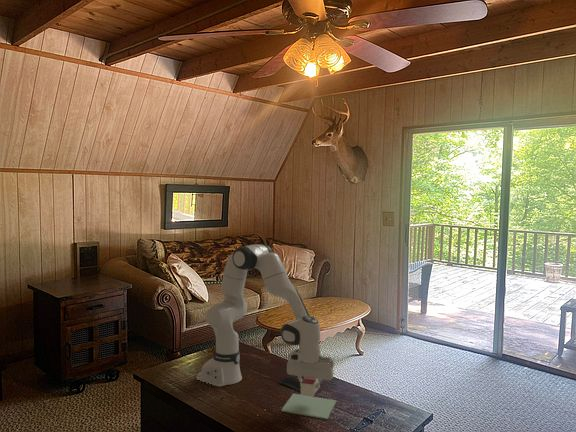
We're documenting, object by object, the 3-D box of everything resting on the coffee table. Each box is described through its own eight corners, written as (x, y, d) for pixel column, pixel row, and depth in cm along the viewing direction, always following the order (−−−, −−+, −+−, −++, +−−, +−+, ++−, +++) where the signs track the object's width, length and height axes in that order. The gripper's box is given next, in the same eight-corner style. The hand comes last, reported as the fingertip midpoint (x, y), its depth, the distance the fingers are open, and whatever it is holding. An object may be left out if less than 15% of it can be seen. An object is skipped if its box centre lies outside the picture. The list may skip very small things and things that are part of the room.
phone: (288, 376, 214) (313, 384, 205) (288, 379, 215) (313, 387, 206) (278, 382, 208) (304, 390, 199) (278, 384, 208) (303, 393, 199)
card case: (306, 385, 190) (306, 374, 190) (318, 387, 189) (318, 376, 188) (300, 394, 182) (300, 382, 182) (313, 396, 180) (313, 384, 180)
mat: (281, 411, 182) (281, 409, 182) (293, 394, 197) (293, 393, 197) (327, 419, 175) (327, 418, 175) (336, 401, 190) (336, 400, 190)
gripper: (335, 355, 184) (335, 387, 185) (290, 349, 191) (290, 380, 192) (331, 360, 178) (331, 393, 179) (285, 354, 185) (285, 386, 186)
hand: (309, 386), depth 185 cm, fingers closed on card case, 5 cm apart
